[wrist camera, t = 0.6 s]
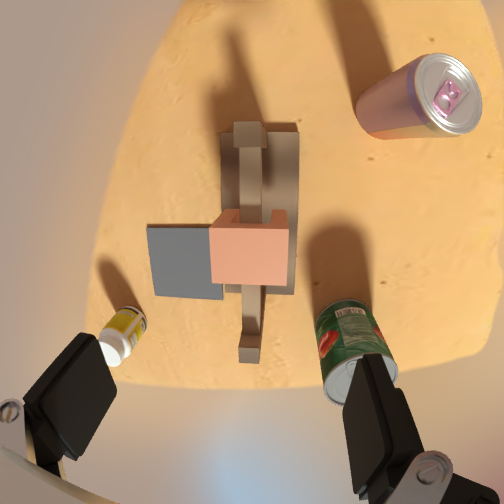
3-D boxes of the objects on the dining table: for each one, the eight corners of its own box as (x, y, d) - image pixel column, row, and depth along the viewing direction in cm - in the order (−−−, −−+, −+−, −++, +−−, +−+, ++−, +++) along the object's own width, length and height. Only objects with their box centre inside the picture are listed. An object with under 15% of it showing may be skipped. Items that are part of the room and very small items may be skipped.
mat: (147, 227, 33) (146, 228, 33) (220, 227, 33) (219, 228, 32) (156, 294, 36) (155, 295, 36) (223, 298, 36) (222, 300, 35)
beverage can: (343, 115, 27) (397, 89, 13) (372, 78, 25) (436, 34, 11) (385, 150, 28) (461, 156, 14) (412, 113, 26) (494, 98, 12)
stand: (222, 133, 29) (182, 121, 16) (298, 133, 28) (314, 119, 16) (226, 287, 35) (200, 361, 22) (293, 290, 34) (299, 366, 22)
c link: (225, 208, 25) (208, 227, 19) (286, 209, 25) (288, 229, 19) (226, 252, 26) (211, 283, 20) (284, 253, 26) (286, 285, 20)
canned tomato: (379, 332, 36) (404, 388, 25) (328, 356, 38) (339, 416, 27) (360, 287, 34) (388, 341, 23) (304, 315, 36) (311, 375, 25)
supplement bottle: (113, 313, 38) (84, 345, 31) (132, 299, 37) (103, 333, 29) (134, 337, 40) (109, 373, 32) (154, 325, 38) (130, 363, 30)
